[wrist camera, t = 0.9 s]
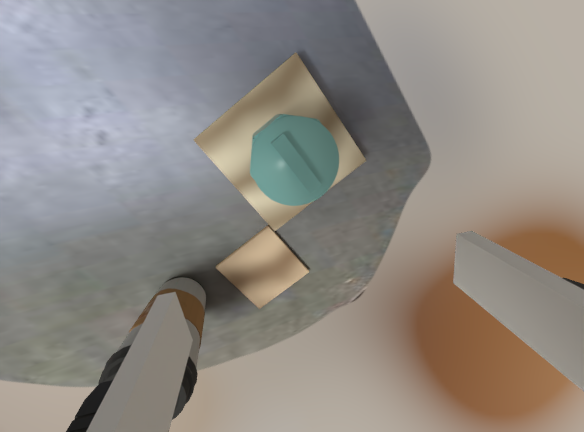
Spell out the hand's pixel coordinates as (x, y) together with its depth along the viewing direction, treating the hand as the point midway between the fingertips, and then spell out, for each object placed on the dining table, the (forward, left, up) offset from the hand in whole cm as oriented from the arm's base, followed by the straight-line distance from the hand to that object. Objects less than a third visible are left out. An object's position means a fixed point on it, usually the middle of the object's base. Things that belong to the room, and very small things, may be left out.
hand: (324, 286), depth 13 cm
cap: (-3, +3, -18) cm, 19 cm away
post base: (-3, +3, -23) cm, 24 cm away
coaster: (+8, -9, -23) cm, 26 cm away
